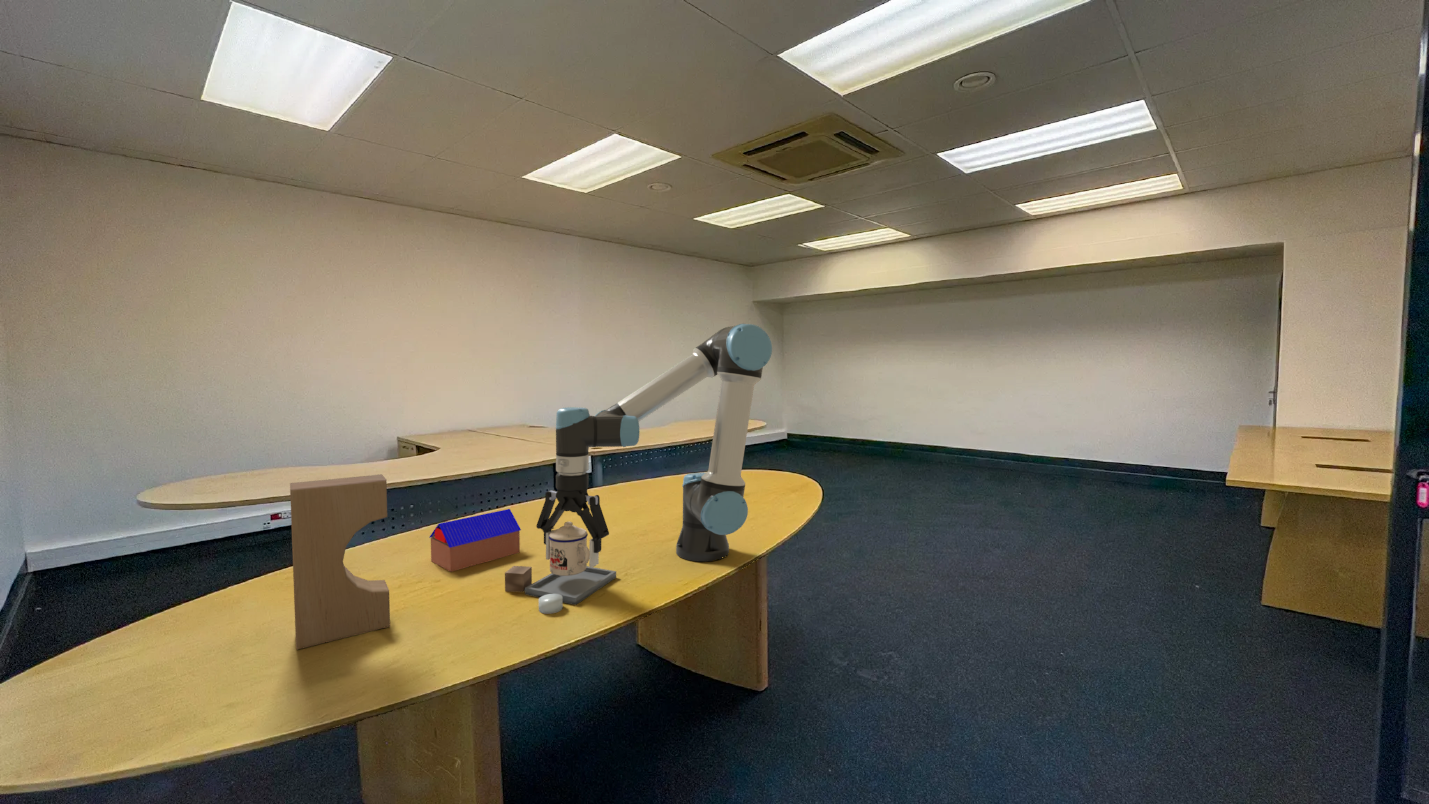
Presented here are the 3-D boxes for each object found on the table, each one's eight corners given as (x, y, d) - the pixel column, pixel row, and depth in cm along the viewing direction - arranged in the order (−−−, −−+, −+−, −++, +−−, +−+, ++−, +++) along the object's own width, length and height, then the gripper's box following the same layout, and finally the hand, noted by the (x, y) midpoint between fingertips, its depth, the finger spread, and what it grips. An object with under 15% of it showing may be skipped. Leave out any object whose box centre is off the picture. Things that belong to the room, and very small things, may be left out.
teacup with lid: (540, 570, 130) (540, 523, 129) (571, 560, 137) (571, 515, 136) (572, 583, 123) (572, 533, 122) (603, 571, 130) (603, 524, 129)
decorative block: (296, 650, 99) (290, 490, 97) (295, 634, 105) (289, 482, 103) (390, 627, 108) (386, 480, 106) (385, 613, 114) (381, 473, 112)
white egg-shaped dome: (567, 606, 119) (567, 596, 119) (552, 616, 115) (552, 605, 114) (548, 602, 121) (548, 592, 121) (533, 612, 116) (533, 601, 116)
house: (521, 553, 153) (521, 512, 152) (449, 573, 137) (449, 528, 136) (499, 543, 160) (499, 505, 159) (429, 561, 145) (428, 519, 144)
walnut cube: (531, 584, 130) (531, 566, 130) (523, 592, 126) (523, 573, 126) (513, 583, 131) (513, 565, 131) (505, 591, 126) (504, 572, 126)
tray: (616, 577, 135) (616, 571, 135) (575, 605, 120) (575, 598, 120) (569, 569, 140) (569, 563, 140) (524, 594, 125) (524, 587, 125)
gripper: (520, 470, 129) (521, 559, 130) (607, 480, 120) (606, 574, 122) (541, 465, 136) (541, 549, 137) (624, 474, 127) (623, 563, 129)
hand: (572, 561), depth 130 cm, fingers closed on teacup with lid, 12 cm apart
